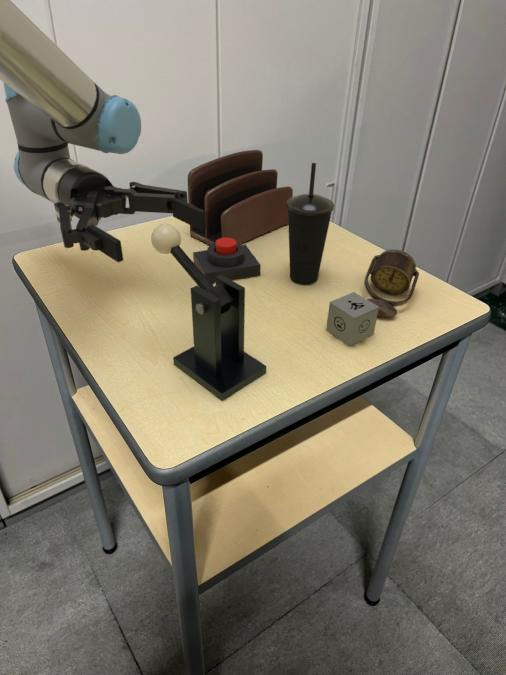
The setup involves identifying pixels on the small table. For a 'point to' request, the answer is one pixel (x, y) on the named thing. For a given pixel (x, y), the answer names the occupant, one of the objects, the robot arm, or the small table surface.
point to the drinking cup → (307, 233)
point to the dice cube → (352, 318)
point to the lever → (187, 262)
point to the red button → (225, 246)
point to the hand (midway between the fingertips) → (164, 235)
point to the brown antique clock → (391, 279)
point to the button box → (227, 263)
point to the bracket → (219, 343)
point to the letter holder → (237, 198)
